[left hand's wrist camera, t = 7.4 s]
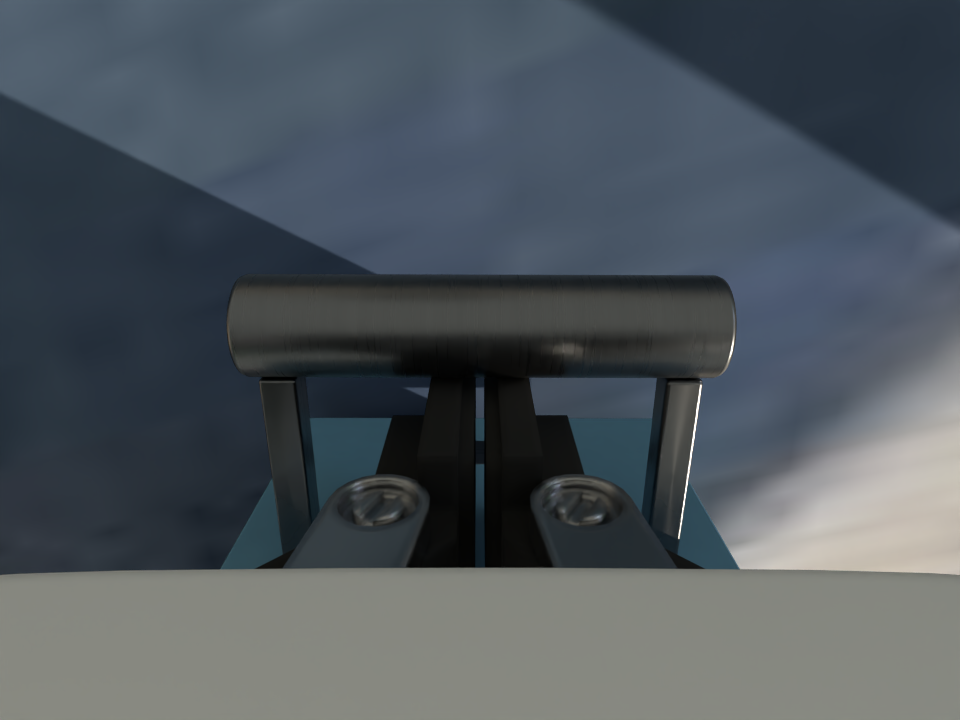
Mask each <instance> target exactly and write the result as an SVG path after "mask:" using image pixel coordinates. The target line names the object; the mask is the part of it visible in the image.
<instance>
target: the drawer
mask: <svg viewBox="0 0 960 720" xmlns="http://www.w3.org/2000/svg"><path fill="white" fill-rule="evenodd" d="M227 338H228V345H229V350H230V354H231V357H232V360H233V362H234V365H235V366H236V368H237V369H238V371H239V372H240V373H242V374H243V375H246V376H248V377H262V378H261V379H260V381H259V385H260V392H261V400H262V407H263V414H264V422H265V429H266V436H267V443H268V451H269V458H270V465H271V473H272V479H271V481H270V483H269V484H268V486H267V488H266V490H265V491H264V493H263V495H262V497H261V498H260V500H259V502H258V504H257V505H256V507H255V509H254V511H253V512H252V514H251V516H250V518H249V519H248V521H247V523H246V525H245V526H244V528H243V530H242V532H241V533H240V535H239V537H238V539H237V541H236V542H235V544H234V546H233V548H232V549H231V551H230V553H229V555H228V556H227V558H226V560H225V562H224V563H223V565H222V567H221V569H255V568H257V567H259V566H261V565H263V564H265V563H267V562H269V561H271V560H273V559H275V558H277V557H279V556H281V555H283V554H285V553H287V552H289V551H291V550H293V549H295V548H296V547H297V545H298V544H299V542H300V541H301V539H302V538H303V536H304V535H305V533H306V532H307V530H308V529H309V527H310V526H311V524H312V523H313V521H314V520H315V518H316V516H317V515H318V513H319V512H320V510H321V509H322V507H323V506H324V504H325V503H326V501H327V500H328V498H329V497H330V496H331V495H332V494H333V493H334V492H335V491H336V489H338V488H339V487H341V486H343V485H344V484H346V483H348V482H350V481H352V480H355V479H358V478H361V477H365V476H371V475H375V474H376V470H377V467H378V464H379V460H380V457H381V453H382V450H383V446H384V443H385V439H386V436H387V433H388V429H389V426H390V422H391V419H392V418H310V415H309V405H308V396H307V387H306V377H510V378H657V383H656V392H655V400H654V409H653V417H652V419H589V418H568V419H569V422H570V426H571V429H572V433H573V436H574V440H575V443H576V446H577V450H578V453H579V457H580V460H581V464H582V467H583V470H584V474H585V475H589V476H595V477H599V478H602V479H605V480H608V481H610V482H612V483H614V484H616V485H617V486H619V487H621V488H622V489H624V491H625V492H626V493H627V494H628V495H629V496H630V497H631V498H632V500H633V501H634V503H635V504H636V506H637V507H638V509H639V510H640V512H641V513H642V515H643V516H644V518H645V520H646V521H647V523H648V524H649V526H650V527H651V529H652V530H653V532H654V533H655V535H656V536H657V538H658V539H659V541H660V542H661V544H662V545H663V547H664V548H665V549H667V550H669V551H671V552H673V553H675V554H677V555H679V556H681V557H683V558H685V559H687V560H689V561H691V562H693V563H695V564H697V565H699V566H701V567H703V568H705V569H739V567H738V565H737V564H736V562H735V560H734V558H733V557H732V555H731V553H730V551H729V550H728V548H727V546H726V544H725V543H724V541H723V539H722V538H721V536H720V534H719V532H718V531H717V529H716V527H715V525H714V524H713V522H712V520H711V519H710V517H709V515H708V513H707V512H706V510H705V508H704V506H703V505H702V503H701V501H700V499H699V498H698V496H697V494H696V493H695V491H694V489H693V487H692V486H691V484H690V482H689V473H690V466H691V459H692V452H693V446H694V439H695V432H696V425H697V418H698V411H699V405H700V398H701V391H702V381H701V379H700V378H715V377H717V376H719V375H721V374H722V373H724V371H725V370H726V369H727V367H728V365H729V363H730V361H731V358H732V354H733V351H734V346H735V339H736V309H735V302H734V298H733V294H732V291H731V289H730V287H729V285H728V283H727V282H726V281H725V280H724V279H723V278H720V277H718V276H714V275H400V274H246V275H244V276H242V277H240V278H238V279H237V281H236V282H235V284H234V286H233V288H232V290H231V294H230V297H229V302H228V309H227ZM475 568H485V531H484V418H476V529H475Z"/></svg>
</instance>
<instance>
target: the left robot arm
mask: <svg viewBox="0 0 960 720" xmlns="http://www.w3.org/2000/svg"><path fill="white" fill-rule="evenodd" d="M475 529H476V377H431V383H430V388H429V394H428V399H427V404H426V410H425V415H393V417H392V419H391V422H390V426H389V429H388V433H387V436H386V439H385V443H384V446H383V450H382V453H381V457H380V460H379V464H378V467H377V470H376V474H375V475H371V476H365V477H361V478H358V479H355V480H352V481H350V482H348V483H346V484H344V485H343V486H341V487H339V488H338V489H336V491H335V492H334V493H333V494H332V495H331V496H330V497H329V498H328V500H327V501H326V503H325V504H324V506H323V507H322V509H321V510H320V512H319V513H318V515H317V516H316V518H315V520H314V521H313V523H312V524H311V526H310V527H309V529H308V530H307V532H306V533H305V535H304V536H303V538H302V539H301V541H300V542H299V544H298V545H297V547H296V548H295V549H293V550H291V551H289V552H287V553H285V554H283V555H281V556H279V557H277V558H275V559H273V560H271V561H269V562H267V563H265V564H263V565H261V566H259V567H257V568H255V569H219V570H126V571H93V572H61V573H28V574H8V575H0V720H960V575H950V574H934V573H901V572H864V571H827V570H746V569H705V568H703V567H701V566H699V565H697V564H695V563H693V562H691V561H689V560H687V559H685V558H683V557H681V556H679V555H677V554H675V553H673V552H671V551H669V550H667V549H665V548H664V547H663V545H662V544H661V542H660V541H659V539H658V538H657V536H656V535H655V533H654V532H653V530H652V529H651V527H650V526H649V524H648V523H647V521H646V520H645V518H644V516H643V515H642V513H641V512H640V510H639V509H638V507H637V506H636V504H635V503H634V501H633V500H632V498H631V497H630V496H629V495H628V494H627V493H626V492H625V491H624V489H622V488H621V487H619V486H617V485H616V484H614V483H612V482H610V481H608V480H605V479H602V478H599V477H595V476H589V475H585V474H584V470H583V467H582V464H581V460H580V457H579V453H578V450H577V446H576V443H575V440H574V436H573V433H572V429H571V426H570V422H569V419H568V417H567V415H535V410H534V404H533V399H532V394H531V388H530V383H529V378H510V377H484V531H485V568H475Z"/></svg>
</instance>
